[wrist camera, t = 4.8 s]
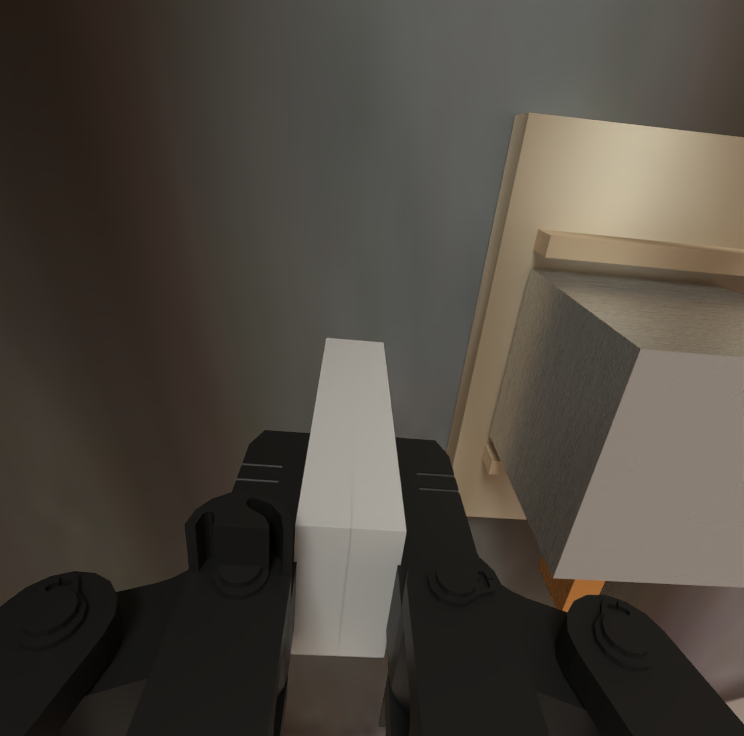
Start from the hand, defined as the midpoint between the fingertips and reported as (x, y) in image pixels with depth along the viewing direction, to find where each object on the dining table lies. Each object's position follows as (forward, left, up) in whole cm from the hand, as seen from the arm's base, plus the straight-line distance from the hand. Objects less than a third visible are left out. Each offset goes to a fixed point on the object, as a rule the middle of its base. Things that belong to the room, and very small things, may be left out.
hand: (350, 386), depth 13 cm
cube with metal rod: (+11, -2, -3) cm, 11 cm away
